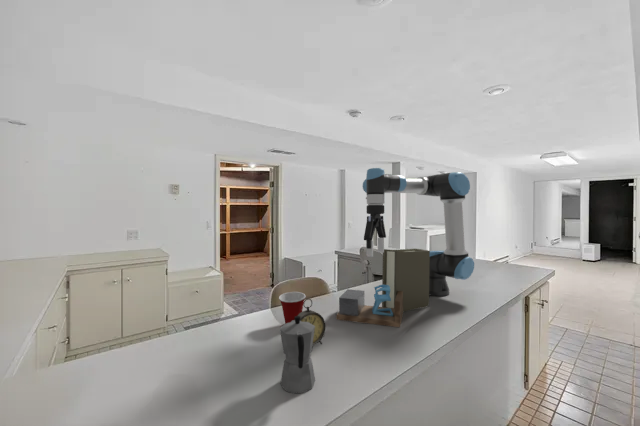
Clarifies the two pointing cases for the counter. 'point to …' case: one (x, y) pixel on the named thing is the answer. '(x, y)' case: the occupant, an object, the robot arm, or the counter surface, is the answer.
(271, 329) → the counter surface
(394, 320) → the wooden l-shaped stand
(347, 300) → the gray block
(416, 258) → the book
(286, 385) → the coffeepot
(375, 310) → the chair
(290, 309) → the plastic cup
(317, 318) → the alarm clock
